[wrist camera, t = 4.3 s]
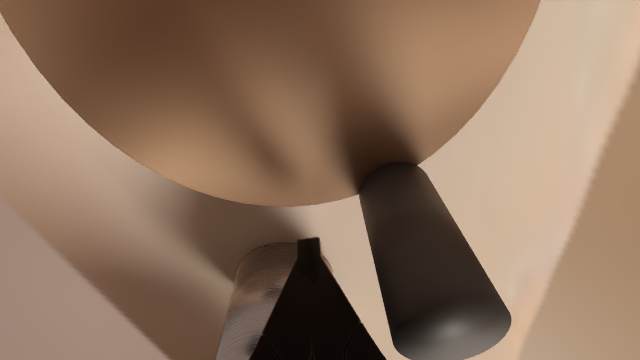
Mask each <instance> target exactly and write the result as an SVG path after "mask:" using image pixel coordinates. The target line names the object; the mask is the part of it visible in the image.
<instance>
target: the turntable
mask: <svg viewBox="0 0 640 360" xmlns="http://www.w3.org/2000/svg"><path fill="white" fill-rule="evenodd" d="M539 3H540V0H0V12H1V14H2V16H3V17H4V19H5V21H6V23H7V24H8V26H9V28H10V30H11V31H12V33H13V35H14V36H15V37H16V39H17V40H18V42H19V43H20V45H21V46H22V48H23V49H24V50H25V52H26V53H27V55H28V56H29V58H30V59H31V61H32V62H33V63H34V65H35V66H36V68H37V69H38V70H39V71H40V73H41V74H42V75H43V76H44V77H45V78H46V80H47V81H48V82H49V83H50V84H51V86H52V87H53V88H54V89H55V90H56V92H57V93H58V94H59V95H60V96H61V98H62V99H63V100H64V101H65V102H66V103H67V104H68V105H69V106H70V107H71V108H72V109H73V110H74V111H75V112H76V113H77V114H78V115H79V116H80V117H81V118H82V119H83V120H84V121H85V122H86V123H87V124H89V125H90V126H91V127H92V128H93V129H95V130H96V131H97V132H98V133H99V134H101V135H102V136H103V137H104V138H105V139H107V140H108V141H109V142H110V143H111V144H113V145H114V146H115V147H117V148H118V149H120V150H121V151H122V152H124V153H125V154H127V155H128V156H130V157H131V158H133V159H134V160H136V161H137V162H138V163H140V164H142V165H144V166H145V167H147V168H149V169H151V170H153V171H154V172H156V173H158V174H160V175H161V176H163V177H165V178H167V179H169V180H172V181H174V182H176V183H178V184H181V185H183V186H185V187H188V188H190V189H192V190H195V191H198V192H201V193H205V194H208V195H211V196H214V197H217V198H221V199H225V200H230V201H234V202H239V203H244V204H253V205H261V206H286V207H293V206H305V205H316V204H321V203H327V202H332V201H337V200H342V199H345V198H348V197H351V196H354V195H358V194H359V198H360V203H361V207H362V212H363V216H364V220H365V225H366V229H367V233H368V238H369V242H370V246H371V251H372V255H373V259H374V264H375V268H376V272H377V277H378V281H379V285H380V290H381V294H382V298H383V302H384V307H385V311H386V315H387V320H388V324H389V328H390V333H391V337H392V341H393V345H394V347H395V349H396V350H397V351H398V352H399V353H400V354H401V355H403V356H404V357H406V358H409V359H411V360H463V359H467V358H470V357H473V356H476V355H478V354H480V353H482V352H484V351H486V350H488V349H490V348H491V347H493V346H494V345H496V344H497V343H498V342H499V341H500V340H501V339H502V338H503V337H504V336H505V335H506V334H507V332H508V330H509V328H510V325H511V315H510V312H509V311H508V309H507V307H506V306H505V304H504V302H503V301H502V299H501V297H500V296H499V294H498V292H497V291H496V289H495V287H494V286H493V284H492V282H491V281H490V279H489V277H488V276H487V274H486V272H485V271H484V269H483V267H482V266H481V264H480V262H479V261H478V259H477V257H476V256H475V254H474V252H473V251H472V249H471V247H470V246H469V244H468V242H467V241H466V239H465V237H464V236H463V234H462V232H461V231H460V229H459V227H458V226H457V224H456V223H455V221H454V219H453V218H452V216H451V214H450V213H449V211H448V209H447V208H446V206H445V204H444V203H443V201H442V199H441V198H440V196H439V194H438V193H437V191H436V189H435V188H434V186H433V184H432V183H431V181H430V179H429V178H428V176H427V174H426V173H425V172H424V171H423V170H422V169H421V168H420V167H418V166H417V165H418V164H420V163H421V162H423V161H424V160H425V159H427V158H428V157H430V156H431V155H432V154H434V153H435V152H436V151H437V150H439V149H440V148H441V147H442V146H443V145H444V144H445V143H447V142H448V141H449V140H450V139H451V138H452V137H453V136H455V135H456V134H457V133H458V132H459V131H460V129H461V128H462V127H463V126H464V125H465V124H466V123H467V122H468V121H469V120H470V119H471V118H472V117H473V116H474V114H475V113H476V112H477V111H478V110H479V109H480V107H481V106H482V105H483V103H484V102H485V101H486V99H487V98H488V97H489V95H490V94H491V93H492V91H493V90H494V89H495V88H496V86H497V85H498V83H499V82H500V80H501V78H502V77H503V75H504V74H505V72H506V70H507V69H508V67H509V65H510V64H511V62H512V61H513V59H514V57H515V56H516V54H517V52H518V50H519V48H520V46H521V44H522V42H523V40H524V38H525V36H526V34H527V31H528V29H529V27H530V25H531V23H532V21H533V19H534V17H535V14H536V11H537V9H538V6H539Z"/></svg>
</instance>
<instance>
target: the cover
mask: <svg viewBox="0 0 640 360" xmlns="http://www.w3.org/2000/svg"><path fill="white" fill-rule="evenodd" d="M296 247H297V244H293V243H275V244H269V245H265V246H262V247H259V248H257V249H255V250H253V251H252V252H250V253H249V254H248V255H246V256H245V257H244V258H243V260H242V261H241V263H240V264H239V267H238V270H237V274H236V278H235V282H234V286H233V291H232V295H231V299H230V303H229V307H228V311H227V315H226V319H225V324H224V328H223V332H222V336H221V340H220V344H219V348H218V353H217V357H216V360H248V359H249V358H250V356H251V354H252V352H253V350H254V348H255V345H256V343H257V341H258V339H259V337H260V335H262V331H263V329H264V327H265V324H266V322H267V320H268V318H269V316H270V314H271V312H272V310H273V307H274V305H275V303H276V301H277V299H278V297H279V295H280V292H281V290H282V288H283V286H284V284H285V282H286V280H287V278H288V275H289V273H290V271H291V269H292V267H293V265H294V263H295V261H296ZM322 258H323V260H324V261H325V263H326V265H327V266H328V268H329V270H330V271H331V273H332V274H333V271H332V268H331V265H330V264H329V262H328V261H327V259H326V258H325V257H324V256H322Z"/></svg>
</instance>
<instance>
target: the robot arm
mask: <svg viewBox="0 0 640 360" xmlns="http://www.w3.org/2000/svg"><path fill="white" fill-rule="evenodd" d="M248 360H386V358H385V357H384V356H383V354H382V353H381V351H380V350H379V348H378V347H377V345H376V344H375V342H374V341H373V339H372V338H371V336H370V335H369V333H368V332H367V330H366V328H365V327H364V325H363V323H361V320H360V319H359V317H358V315H357V314H356V312H355V311H354V309H353V307H352V306H351V304H350V302H349V301H348V299H347V297H346V296H345V294H344V293H343V291H342V289H341V288H340V286H339V284H338V283H337V281H336V279H335V278H334V276H333V274H332V273H331V271H330V270H329V268H328V266H327V265H326V263H325V261H324V260H323V258H322V252H321V245H320V238H319V237H313V238H305V239H298V240H297V247H296V261H295V263H294V265H293V267H292V269H291V271H290V273H289V275H288V278H287V280H286V282H285V284H284V286H283V288H282V290H281V292H280V295H279V297H278V299H277V301H276V303H275V305H274V307H273V310H272V312H271V314H270V316H269V318H268V320H267V322H266V324H265V327H264V329H263V331H262V335H260V337H259V339H258V341H257V343H256V345H255V348H254V350H253V352H252V354H251V356H250V358H249V359H248Z"/></svg>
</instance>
